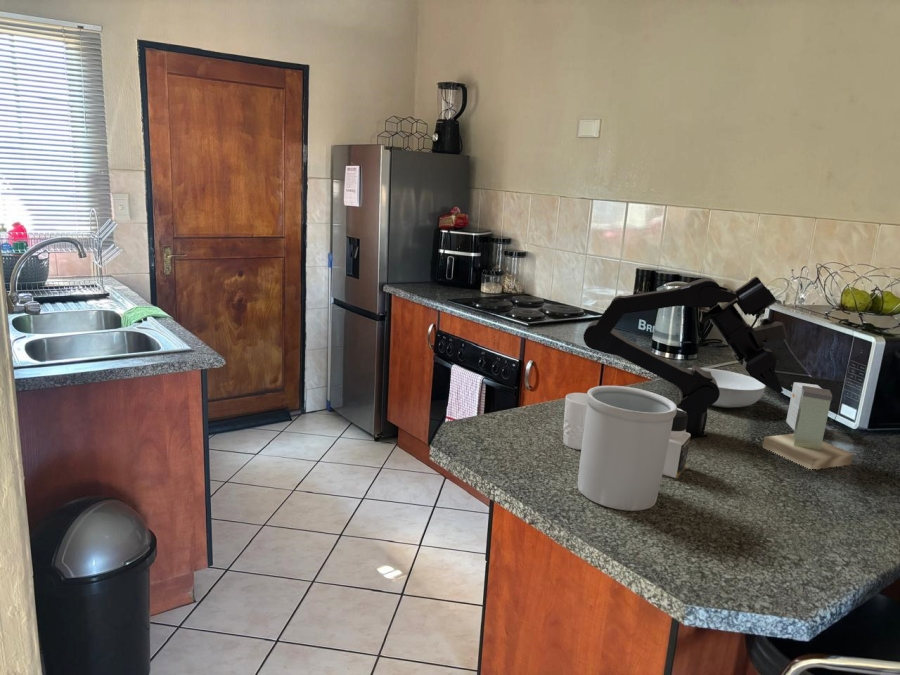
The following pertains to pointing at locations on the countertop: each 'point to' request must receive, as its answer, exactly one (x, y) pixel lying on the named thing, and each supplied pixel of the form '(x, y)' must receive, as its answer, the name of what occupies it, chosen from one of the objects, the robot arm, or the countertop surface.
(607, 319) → the robot arm
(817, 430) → the tea tin
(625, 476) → the utensil holder
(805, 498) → the countertop surface
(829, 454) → the wooden block
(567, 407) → the white cup
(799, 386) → the small box
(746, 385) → the serving bowl
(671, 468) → the medicine bottle
